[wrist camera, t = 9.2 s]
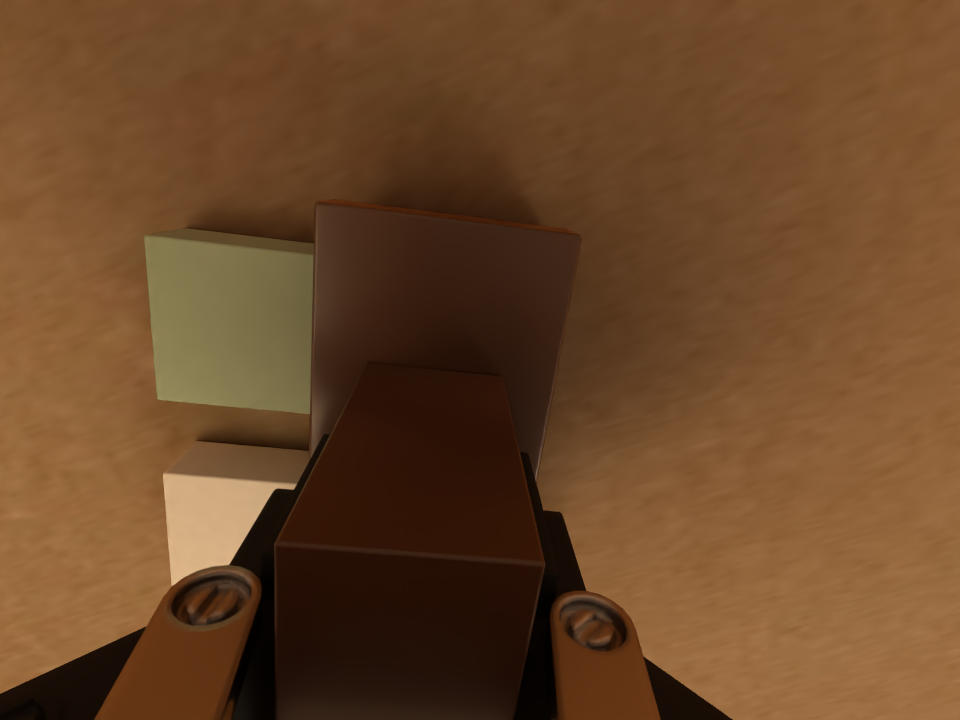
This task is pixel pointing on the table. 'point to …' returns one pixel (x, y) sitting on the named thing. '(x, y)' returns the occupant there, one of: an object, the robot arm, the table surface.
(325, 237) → the brown inverted t block
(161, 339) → the chip
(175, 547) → the chip
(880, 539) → the table surface
